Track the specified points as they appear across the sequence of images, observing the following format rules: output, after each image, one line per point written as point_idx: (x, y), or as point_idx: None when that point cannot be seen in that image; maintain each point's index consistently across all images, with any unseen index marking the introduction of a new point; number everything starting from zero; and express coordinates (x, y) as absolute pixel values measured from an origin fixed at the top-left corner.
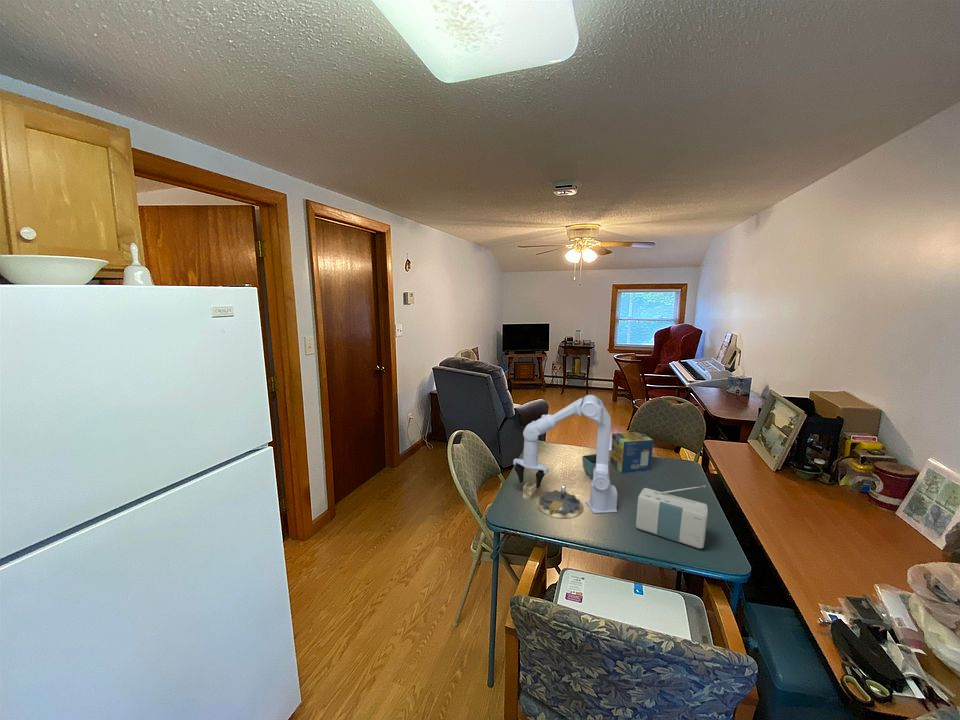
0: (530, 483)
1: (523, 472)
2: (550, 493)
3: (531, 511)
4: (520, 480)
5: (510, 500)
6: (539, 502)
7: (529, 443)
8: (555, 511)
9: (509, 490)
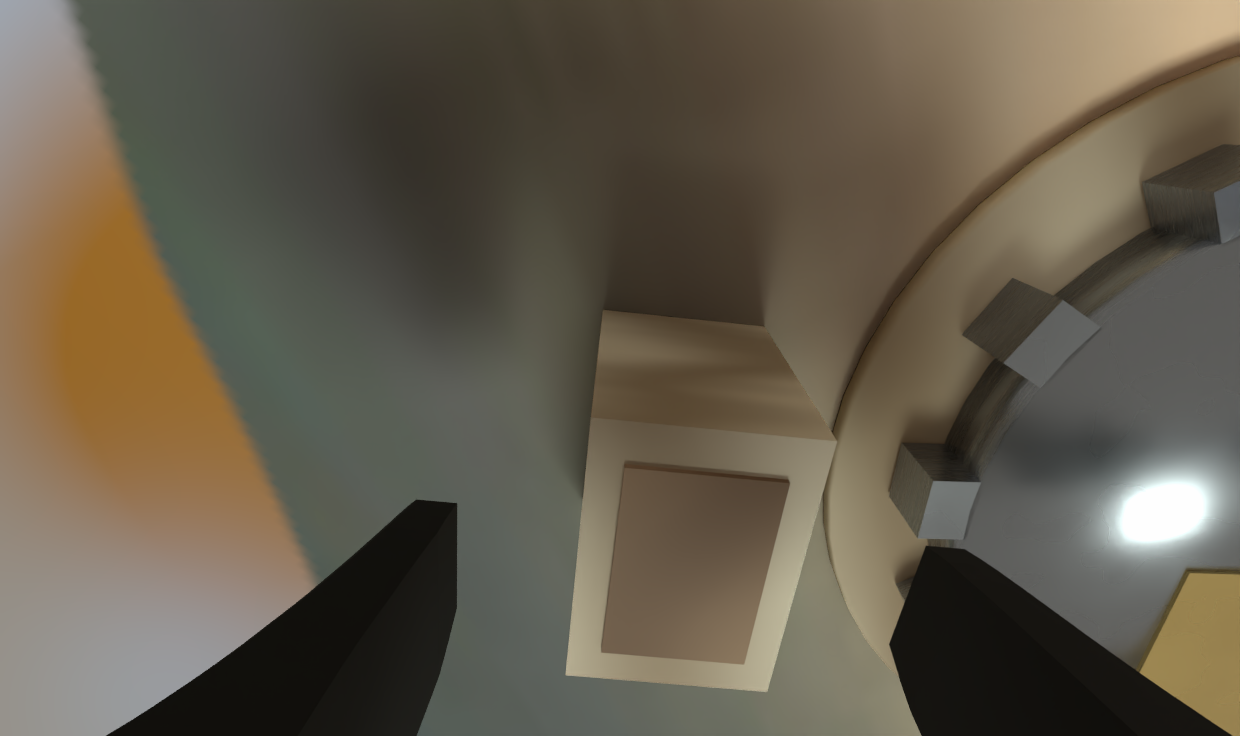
0: (681, 510)
1: (331, 710)
2: (1123, 371)
3: (810, 723)
4: (428, 696)
5: (455, 633)
6: (890, 567)
7: None
8: None
9: (272, 401)
